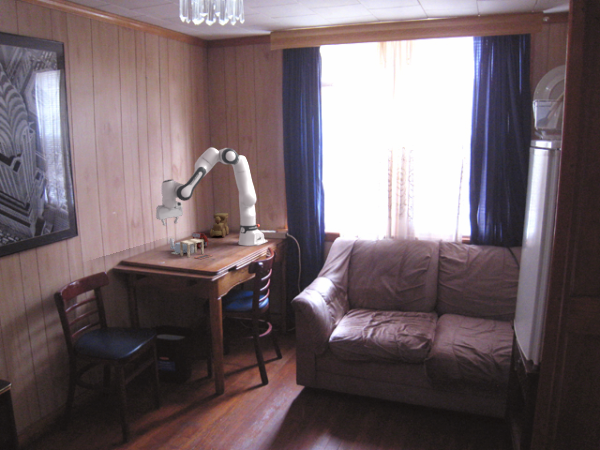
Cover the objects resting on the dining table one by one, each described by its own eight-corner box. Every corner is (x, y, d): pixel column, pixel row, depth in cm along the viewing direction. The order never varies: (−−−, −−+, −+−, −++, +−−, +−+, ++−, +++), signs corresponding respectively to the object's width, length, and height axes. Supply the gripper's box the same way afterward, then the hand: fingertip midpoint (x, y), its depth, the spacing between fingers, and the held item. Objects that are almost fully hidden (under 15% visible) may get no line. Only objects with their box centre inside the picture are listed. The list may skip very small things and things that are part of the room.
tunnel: (195, 252, 336) (195, 238, 334) (203, 253, 332) (203, 239, 330) (180, 255, 326) (179, 241, 324) (188, 257, 321) (188, 243, 320)
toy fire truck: (205, 249, 346) (204, 234, 344) (190, 247, 350) (189, 233, 349) (210, 247, 352) (210, 232, 350) (195, 245, 357) (195, 231, 355)
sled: (174, 248, 343) (174, 237, 342) (197, 253, 330) (196, 241, 329) (167, 250, 339) (166, 239, 337) (190, 255, 325) (189, 243, 324)
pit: (205, 255, 328) (205, 254, 328) (212, 256, 325) (212, 255, 325) (194, 258, 320) (194, 257, 320) (200, 259, 317) (200, 258, 317)
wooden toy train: (216, 233, 402) (215, 212, 399) (230, 233, 400) (229, 213, 397) (209, 238, 382) (208, 216, 379) (223, 238, 381) (223, 217, 378)
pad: (182, 250, 342) (182, 250, 342) (188, 251, 338) (188, 251, 338) (170, 253, 334) (170, 252, 334) (176, 254, 330) (176, 254, 330)
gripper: (159, 206, 325) (160, 227, 328) (183, 202, 341) (184, 222, 344) (153, 205, 329) (154, 226, 331) (177, 201, 345) (178, 221, 347)
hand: (170, 224), depth 338 cm, fingers open, 8 cm apart
